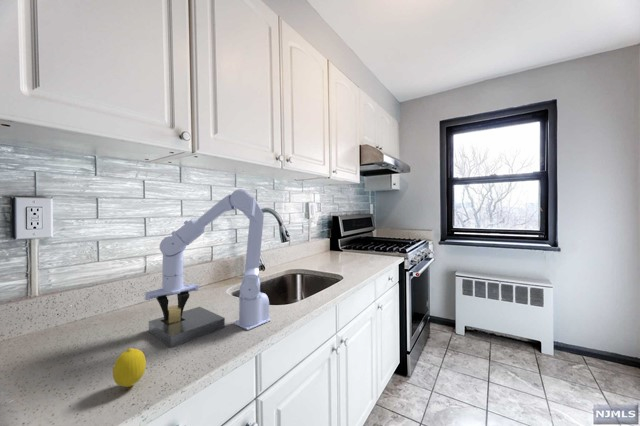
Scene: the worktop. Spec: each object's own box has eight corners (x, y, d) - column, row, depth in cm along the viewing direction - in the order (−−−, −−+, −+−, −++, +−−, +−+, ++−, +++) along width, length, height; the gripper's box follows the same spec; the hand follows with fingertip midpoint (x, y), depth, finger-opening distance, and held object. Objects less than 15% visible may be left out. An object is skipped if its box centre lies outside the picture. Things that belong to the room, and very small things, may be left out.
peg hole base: (199, 314, 92) (199, 306, 92) (224, 327, 82) (224, 317, 82) (148, 331, 79) (148, 321, 79) (170, 347, 69) (170, 336, 69)
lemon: (140, 375, 58) (141, 339, 58) (149, 385, 54) (149, 347, 54) (109, 388, 53) (109, 349, 53) (116, 400, 50) (117, 359, 50)
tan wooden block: (177, 326, 82) (177, 304, 82) (180, 330, 79) (180, 308, 79) (165, 329, 80) (165, 307, 80) (168, 334, 77) (168, 310, 77)
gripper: (147, 280, 72) (147, 329, 72) (201, 273, 82) (201, 315, 82) (143, 276, 78) (143, 321, 77) (194, 269, 87) (194, 309, 87)
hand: (172, 317), depth 80 cm, fingers closed on tan wooden block, 3 cm apart
